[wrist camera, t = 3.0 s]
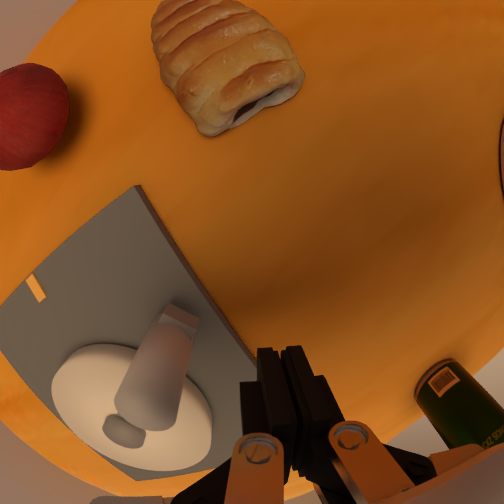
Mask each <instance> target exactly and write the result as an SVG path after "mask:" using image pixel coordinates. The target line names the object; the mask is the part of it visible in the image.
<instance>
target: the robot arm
mask: <svg viewBox="0 0 504 504" xmlns="http://www.w3.org/2000/svg"><path fill="white" fill-rule="evenodd" d="M501 174H502V182H503V189H504V125H503V130H502V137H501ZM239 385H240V409H241V424H242V437H241V438H239V440H238V441H237V442H236V443H235V445H234V448H233V453H232V457H230V458H229V459H228V460H226V461H225V462H224V463H222V464H221V465H220V466H218V467H217V468H216V469H214V470H213V471H211V472H210V473H209V474H207V475H206V476H204V477H203V478H202V479H200V480H199V481H197V482H196V483H194V484H193V485H191V486H190V487H188V488H186V489H185V490H183V491H182V492H180V493H179V494H177V495H176V496H175V497H167V498H163V497H162V496H143V497H119V496H101V497H97V498H95V499H93V500H92V501H91V503H90V504H284V485H285V484H286V483H287V482H288V477H289V473H290V468H291V466H292V469H293V471H295V470H298V473H299V477H304V476H305V477H306V479H307V480H309V481H311V482H313V486H314V489H315V491H316V493H317V495H318V497H319V499H320V501H321V503H322V504H504V443H501V444H498V445H495V446H493V447H490V448H488V449H486V450H484V449H483V448H482V447H481V446H479V445H477V444H468V445H465V446H461V447H458V448H454V449H450V450H447V451H443V452H438V453H434V454H430V456H429V457H425V456H422V455H419V454H416V453H412V452H408V451H405V450H402V449H398V448H395V447H392V446H389V445H386V444H383V443H381V442H380V441H379V439H378V438H377V437H376V435H375V434H374V433H373V432H372V430H371V429H370V428H369V427H368V426H367V425H365V424H363V423H361V422H358V421H345V419H344V417H343V415H342V413H341V410H340V408H339V406H338V404H337V402H336V400H335V398H334V395H333V393H332V391H331V389H330V387H329V385H328V383H327V381H326V379H325V377H324V376H323V375H319V376H314V374H313V372H312V369H311V367H310V365H309V362H308V360H307V358H306V355H305V353H304V351H303V348H302V346H301V345H298V346H287V347H286V350H282V351H281V358H280V357H279V354H278V351H273V349H272V347H269V348H257V381H246V382H239Z"/></svg>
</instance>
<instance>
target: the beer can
mask: <svg viewBox="0 0 504 504" xmlns="http://www.w3.org/2000/svg"><path fill="white" fill-rule="evenodd" d="M416 402H417V403H418V405H419V407H420V408H421V409H422V411H423V412H424V414H425V415H426V416H427V418H428V419H429V421H430V422H431V423H432V425H433V427H434V428H435V429H436V431H437V432H438V434H439V435H440V436H441V438H442V440H443V441H444V443H445V444H446V445H447V447H448V448H449V450H450V449H454V448H458V447H461V446H465V445H468V444H477V445H479V446H481V447H482V448H483V449H484V450H486V449H488V448H490V447H493V446H495V445H498V444H501V443H504V409H503V408H502V407H501V406H500V405H499V404H498V402H496V400H494V398H493V397H492V396H491V395H490V394H489V393H488V392H487V391H486V390H485V389H484V388H483V387H482V386H481V385H480V384H479V383H478V382H477V381H476V380H475V379H474V378H473V377H472V376H471V375H470V374H469V373H468V372H467V371H466V370H465V369H464V368H463V367H462V366H461V365H460V364H459V363H458V362H455V361H451V360H445V361H442V362H440V363H438V364H437V365H435V366H434V367H432V368H431V369H430V370H429V371H428V372H427V373H426V374H425V375H424V376H423V378H422V379H421V381H420V382H419V384H418V386H417V389H416Z"/></svg>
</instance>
